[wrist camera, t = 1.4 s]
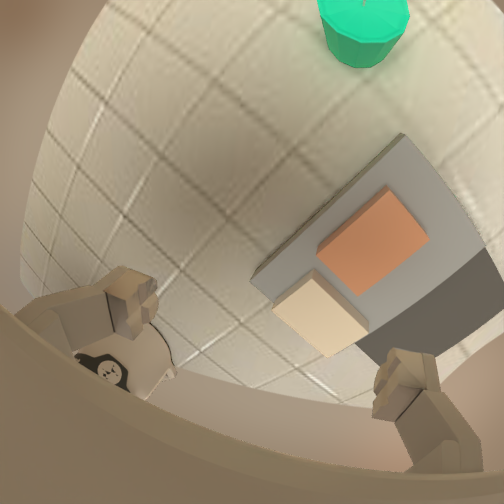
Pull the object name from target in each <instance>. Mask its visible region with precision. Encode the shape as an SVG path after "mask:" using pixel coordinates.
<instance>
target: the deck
mask: <svg viewBox="0 0 504 504" xmlns="http://www.w3.org/2000/svg"><path fill="white" fill-rule="evenodd" d="M385 185H387V186H388V187H389V188H390V189H391V190H392V192H393V193H394V194H395V195H396V196H397V197H398V198H399V200H400V201H401V202H402V203H403V204H404V206H405V207H406V208H407V209H408V210H409V212H410V213H411V214H412V215H413V216H414V218H415V219H416V220H417V221H418V223H419V224H420V225H421V226H422V228H423V229H424V230H425V232H426V233H427V235H428V237H429V238H430V240H429V241H428V242H427V243H426V244H425V245H423V246H422V247H421V248H420V249H419V250H417V251H416V252H415V253H414V254H412V255H411V256H410V257H409V258H408V259H406V260H405V261H404V262H403V263H401V264H400V265H399V266H398V267H396V268H395V269H394V270H392V271H391V272H390V273H389V274H387V275H386V276H385V277H383V278H382V279H381V280H380V281H378V282H377V283H376V284H374V285H373V286H372V287H370V288H369V289H368V290H366V291H365V292H363V293H362V294H361V295H359V296H358V297H357V296H356V295H355V294H354V293H353V292H352V291H351V290H350V289H349V288H348V287H347V286H346V285H345V284H344V283H343V282H342V281H341V280H340V279H339V278H338V277H337V276H336V275H335V274H334V273H333V272H332V271H331V270H330V269H329V268H328V267H327V266H326V265H325V264H324V263H323V262H322V261H321V260H320V259H319V258H318V257H317V256H316V252H317V247H318V246H319V245H320V244H321V243H322V242H323V241H324V240H326V239H327V238H328V237H329V236H330V235H331V234H332V233H333V232H335V231H336V230H337V229H338V228H339V227H340V226H341V225H342V224H344V223H345V222H346V221H347V220H348V219H349V218H350V217H351V216H353V215H354V214H355V213H356V212H357V211H358V210H359V209H360V208H361V207H362V206H364V205H365V204H366V203H367V202H368V201H369V200H370V199H371V198H372V197H373V196H375V195H376V194H377V193H378V192H379V191H380V190H381V189H382V188H383V187H384V186H385ZM485 246H486V245H485V243H484V241H483V239H482V238H481V236H480V234H479V233H478V231H477V229H476V228H475V226H474V225H473V223H472V221H471V220H470V218H469V217H468V215H467V214H466V212H465V211H464V209H463V208H462V206H461V205H460V203H459V202H458V200H457V199H456V197H455V196H454V195H453V193H452V192H451V190H450V189H449V188H448V186H447V185H446V184H445V182H444V181H443V180H442V178H441V177H440V176H439V174H438V173H437V172H436V170H435V169H434V168H433V167H432V165H431V164H430V163H429V162H428V160H427V159H426V158H425V157H424V155H423V154H422V153H421V152H420V151H419V149H418V148H417V147H416V146H415V145H414V144H413V142H412V141H411V140H410V139H409V138H408V137H407V136H406V135H404V134H401V133H400V134H399V135H398V136H397V137H396V138H395V139H394V140H393V141H392V142H391V143H390V144H389V145H388V146H387V147H386V148H385V149H384V150H383V151H382V152H381V153H380V154H379V155H378V156H377V157H376V158H375V159H374V160H373V161H371V162H370V163H369V164H368V165H367V166H366V167H365V168H364V169H363V170H362V171H361V172H360V173H359V174H358V175H357V176H356V177H355V178H354V179H353V180H352V181H351V182H350V183H349V184H347V185H346V186H345V187H344V188H343V189H342V190H341V191H340V192H339V193H338V194H337V195H336V196H335V197H334V198H333V199H332V200H331V201H330V202H328V203H327V204H326V205H325V206H324V207H323V208H322V209H321V210H320V211H319V212H318V213H317V214H316V215H315V216H314V217H313V218H311V219H310V220H309V221H308V222H307V223H306V224H305V225H304V226H303V227H302V228H301V229H300V230H299V231H298V232H297V233H295V234H294V235H293V236H292V237H291V238H290V239H289V240H288V241H287V242H286V243H285V244H284V245H283V246H282V247H280V248H279V249H278V250H277V251H276V252H275V253H274V254H273V255H272V256H271V257H270V258H269V259H267V260H266V261H265V262H264V263H263V264H262V265H261V266H260V267H259V268H258V269H257V270H256V271H255V272H254V274H253V276H252V278H251V279H250V281H249V282H250V283H251V284H253V285H254V286H255V287H256V288H257V289H258V290H259V291H260V292H262V293H263V294H264V295H265V296H266V297H267V298H268V299H269V300H271V301H272V302H273V303H274V302H275V300H276V299H277V298H278V297H279V296H281V295H282V294H283V293H284V292H286V291H287V290H288V289H289V288H291V287H292V286H293V285H294V284H296V283H297V282H298V281H299V280H301V279H302V278H303V277H304V276H306V275H307V274H308V273H309V272H310V271H312V270H313V269H315V270H316V271H317V272H318V273H319V274H320V275H321V276H322V277H323V278H325V279H326V280H327V281H328V282H329V283H330V284H331V285H332V286H333V287H334V288H335V289H336V290H337V291H338V292H339V293H340V294H341V295H342V296H343V297H344V298H345V299H346V300H347V301H348V302H349V303H350V304H351V305H352V306H353V307H354V308H355V309H356V310H357V311H358V312H359V313H360V314H361V315H362V316H363V317H364V318H365V319H366V320H367V321H368V322H369V334H370V333H371V332H373V331H375V330H376V329H378V328H379V327H381V326H382V325H384V324H385V323H387V322H388V321H390V320H391V319H393V318H394V317H396V316H397V315H399V314H400V313H401V312H403V311H404V310H406V309H407V308H409V307H410V306H411V305H413V304H414V303H416V302H417V301H418V300H420V299H421V298H422V297H424V296H425V295H426V294H428V293H429V292H430V291H432V290H433V289H434V288H436V287H437V286H438V285H440V284H441V283H442V282H443V281H445V280H446V279H447V278H448V277H450V276H451V275H452V274H453V273H455V272H456V271H457V270H458V269H460V268H461V267H462V266H463V265H464V264H466V263H467V262H468V261H469V260H470V259H471V258H473V257H474V256H475V255H476V254H477V253H478V252H479V251H481V250H482V249H483V248H484V247H485ZM367 335H368V334H367ZM367 335H366V336H367ZM364 337H365V336H364ZM364 337H362V338H364ZM362 338H361V339H362ZM359 340H360V339H359ZM359 340H358V341H359ZM356 342H357V341H356ZM354 343H355V342H354ZM354 343H353V344H354ZM351 345H352V344H351ZM351 345H349V346H351ZM349 346H348V347H349ZM346 348H347V347H346ZM346 348H344V349H346ZM344 349H343V350H344ZM341 351H342V350H341ZM339 352H340V351H339ZM339 352H338V353H339ZM336 354H337V353H336ZM334 355H335V354H334Z"/></svg>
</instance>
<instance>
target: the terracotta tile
mask: <svg viewBox="0 0 504 504" xmlns="http://www.w3.org/2000/svg"><path fill="white" fill-rule="evenodd" d="M429 240H430V238H429V237H428V235H427V233H426V232H425V230H424V229H423V228H422V226H421V225H420V224H419V223H418V221H417V220H416V219H415V218H414V216H413V215H412V214H411V213H410V212H409V210H408V209H407V208H406V207H405V206H404V204H403V203H402V202H401V201H400V200H399V198H398V197H397V196H396V195H395V194H394V193H393V192H392V190H391V189H390V188H389V187H388V186H387V185H385V186H384V187H383V188H382V189H381V190H380V191H379V192H378V193H377V194H376V195H375V196H373V197H372V198H371V199H370V200H369V201H368V202H367V203H366V204H365V205H364V206H362V207H361V208H360V209H359V210H358V211H357V212H356V213H355V214H354V215H353V216H351V217H350V218H349V219H348V220H347V221H346V222H345V223H344V224H342V225H341V226H340V227H339V228H338V229H337V230H336V231H335V232H333V233H332V234H331V235H330V236H329V237H328V238H327V239H326V240H324V241H323V242H322V243H321V244H320V245H319V246H318V247H317V252H316V256H317V257H318V258H319V259H320V260H321V261H322V262H323V263H324V264H325V265H326V266H327V267H328V268H329V269H330V270H331V271H332V272H333V273H334V274H335V275H336V276H337V277H338V278H339V279H340V280H341V281H342V282H343V283H344V284H345V285H346V286H347V287H348V288H349V289H350V290H351V291H352V292H353V293H354V294H355V295H356V296H357V297H358V296H359V295H361V294H362V293H363V292H365V291H366V290H368V289H369V288H370V287H372V286H373V285H374V284H376V283H377V282H378V281H380V280H381V279H382V278H383V277H385V276H386V275H387V274H389V273H390V272H391V271H392V270H394V269H395V268H396V267H398V266H399V265H400V264H401V263H403V262H404V261H405V260H406V259H408V258H409V257H410V256H411V255H412V254H414V253H415V252H416V251H417V250H419V249H420V248H421V247H422V246H423V245H425V244H426V243H427V242H428V241H429Z"/></svg>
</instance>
